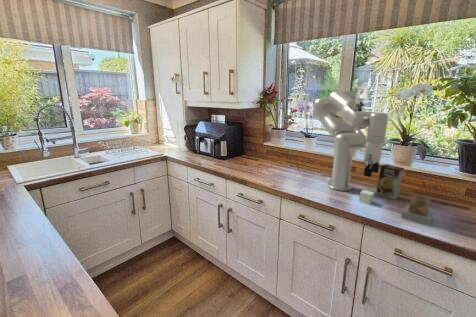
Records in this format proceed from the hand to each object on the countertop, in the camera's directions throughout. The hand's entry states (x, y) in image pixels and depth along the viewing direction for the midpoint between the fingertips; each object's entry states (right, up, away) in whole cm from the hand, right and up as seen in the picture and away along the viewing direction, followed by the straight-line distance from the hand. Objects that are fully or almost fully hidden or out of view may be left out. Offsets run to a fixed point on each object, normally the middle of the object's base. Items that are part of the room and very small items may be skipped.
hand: (370, 174), depth 123 cm
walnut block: (+14, -15, -13) cm, 24 cm away
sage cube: (0, -14, +4) cm, 15 cm away
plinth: (+14, -18, -12) cm, 26 cm away
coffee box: (+15, -12, +12) cm, 23 cm away
